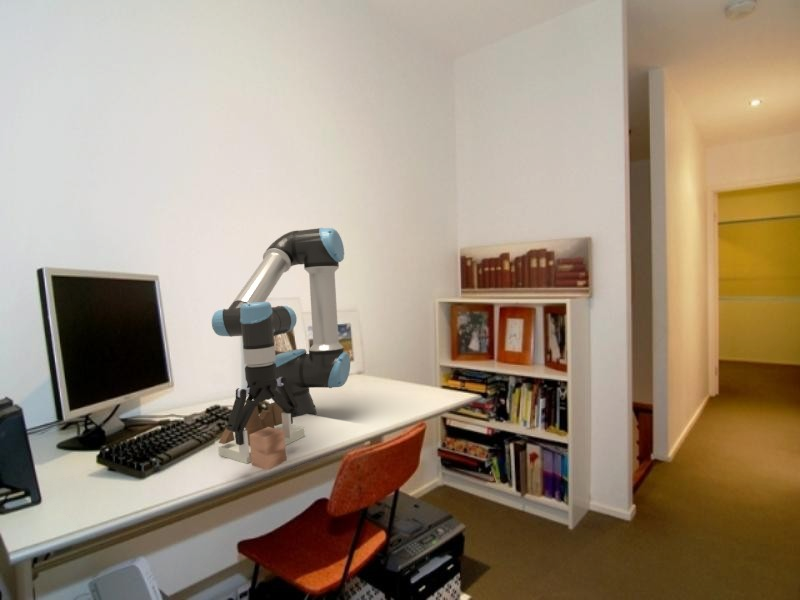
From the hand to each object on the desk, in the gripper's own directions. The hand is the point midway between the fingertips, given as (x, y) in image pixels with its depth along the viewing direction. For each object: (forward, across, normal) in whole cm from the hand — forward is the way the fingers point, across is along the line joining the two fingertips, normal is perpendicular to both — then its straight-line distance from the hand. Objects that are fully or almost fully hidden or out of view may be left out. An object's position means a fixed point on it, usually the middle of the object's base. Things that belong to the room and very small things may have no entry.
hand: (267, 446), depth 111 cm
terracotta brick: (+4, 0, 0) cm, 4 cm away
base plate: (+4, -7, -11) cm, 14 cm away
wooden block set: (+2, -6, -11) cm, 12 cm away
